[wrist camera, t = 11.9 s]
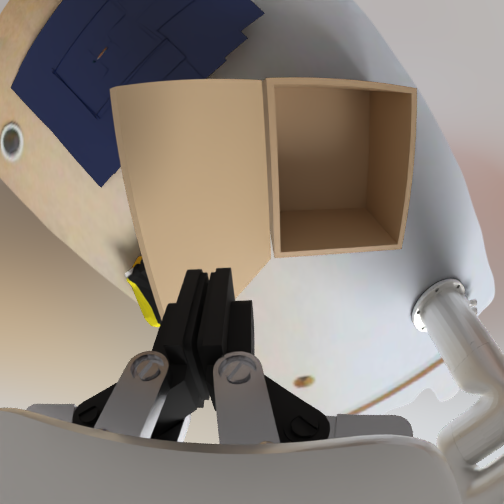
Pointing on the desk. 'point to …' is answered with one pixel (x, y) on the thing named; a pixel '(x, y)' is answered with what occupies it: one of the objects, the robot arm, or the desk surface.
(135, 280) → the gaming controller
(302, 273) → the desk surface
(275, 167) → the carton
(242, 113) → the flap
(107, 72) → the folded navy cloth
